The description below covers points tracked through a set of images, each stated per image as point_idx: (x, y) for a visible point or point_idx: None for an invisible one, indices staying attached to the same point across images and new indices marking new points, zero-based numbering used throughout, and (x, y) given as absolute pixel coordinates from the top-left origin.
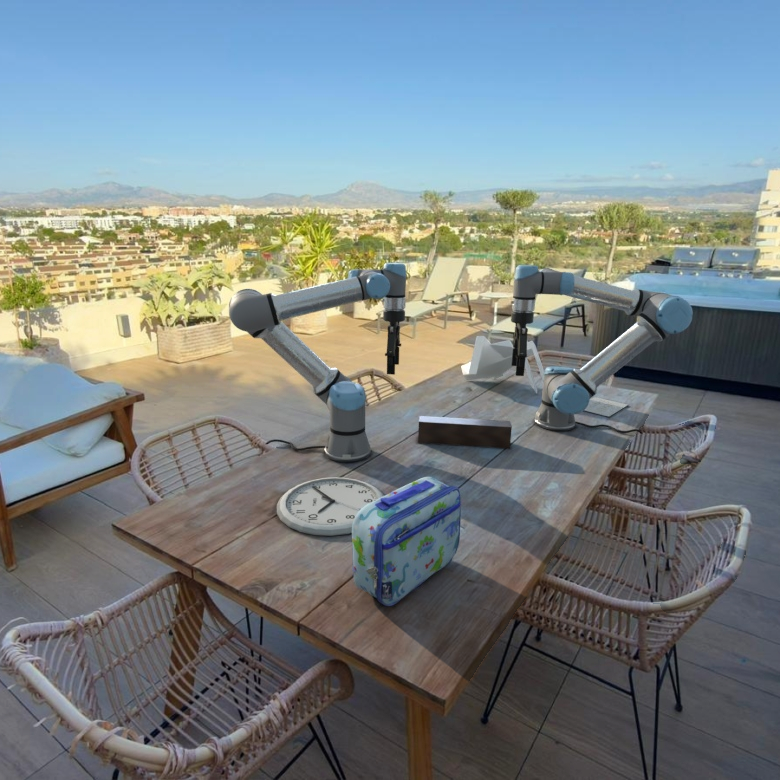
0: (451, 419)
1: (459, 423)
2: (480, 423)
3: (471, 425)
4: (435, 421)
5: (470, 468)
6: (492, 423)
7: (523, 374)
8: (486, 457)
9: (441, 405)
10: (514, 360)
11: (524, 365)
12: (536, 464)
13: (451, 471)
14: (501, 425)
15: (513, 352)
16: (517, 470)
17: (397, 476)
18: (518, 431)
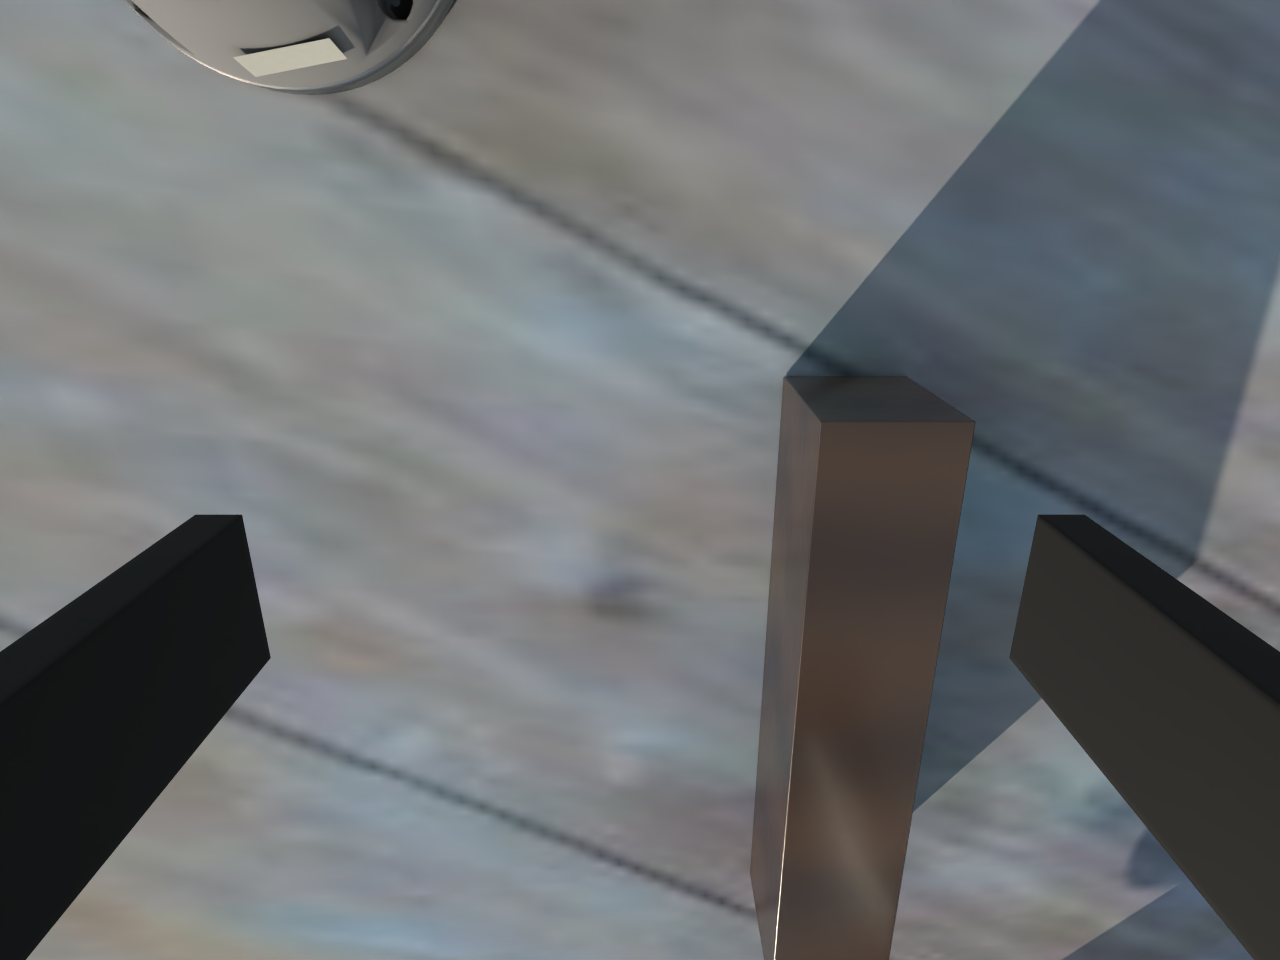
0: (823, 835)
1: (905, 789)
2: (897, 655)
3: (927, 712)
4: (872, 920)
5: None
6: (892, 569)
7: (1100, 536)
8: None
9: None
10: (193, 689)
11: (1265, 650)
12: (1183, 214)
13: None
14: (937, 503)
15: (51, 902)
16: (1262, 360)
17: None
18: (553, 272)
